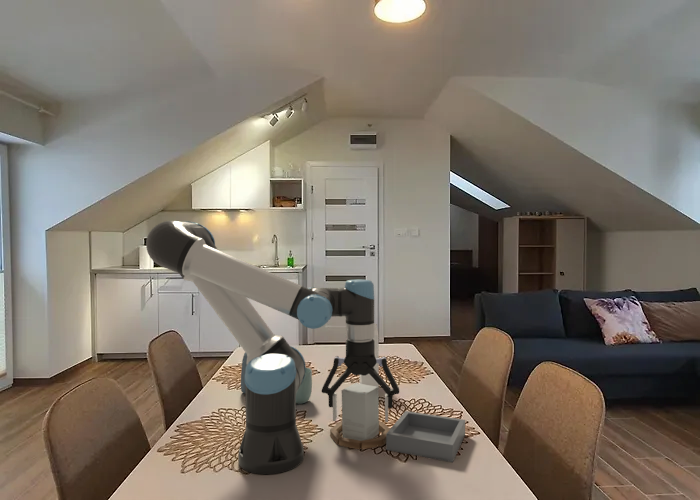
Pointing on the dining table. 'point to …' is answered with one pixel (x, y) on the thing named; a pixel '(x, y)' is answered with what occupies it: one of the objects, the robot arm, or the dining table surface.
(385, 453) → the dining table surface
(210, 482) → the dining table surface
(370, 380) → the milk
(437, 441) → the bin
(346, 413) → the supplement box
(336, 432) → the ring
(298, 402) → the cup
